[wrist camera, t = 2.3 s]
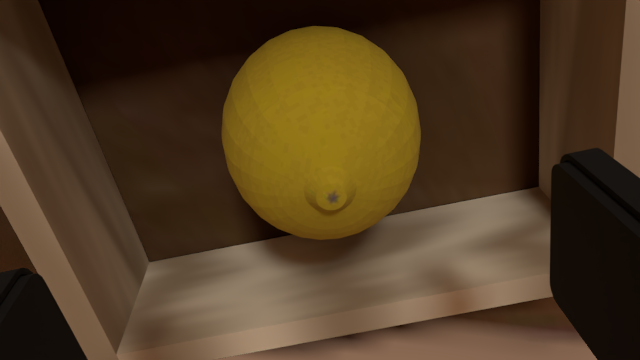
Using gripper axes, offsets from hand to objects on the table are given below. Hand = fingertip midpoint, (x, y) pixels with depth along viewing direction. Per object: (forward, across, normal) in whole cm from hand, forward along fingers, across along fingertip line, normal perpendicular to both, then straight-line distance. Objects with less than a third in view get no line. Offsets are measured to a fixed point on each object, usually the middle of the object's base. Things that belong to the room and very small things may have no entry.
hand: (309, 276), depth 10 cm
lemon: (+10, -1, 0) cm, 11 cm away
